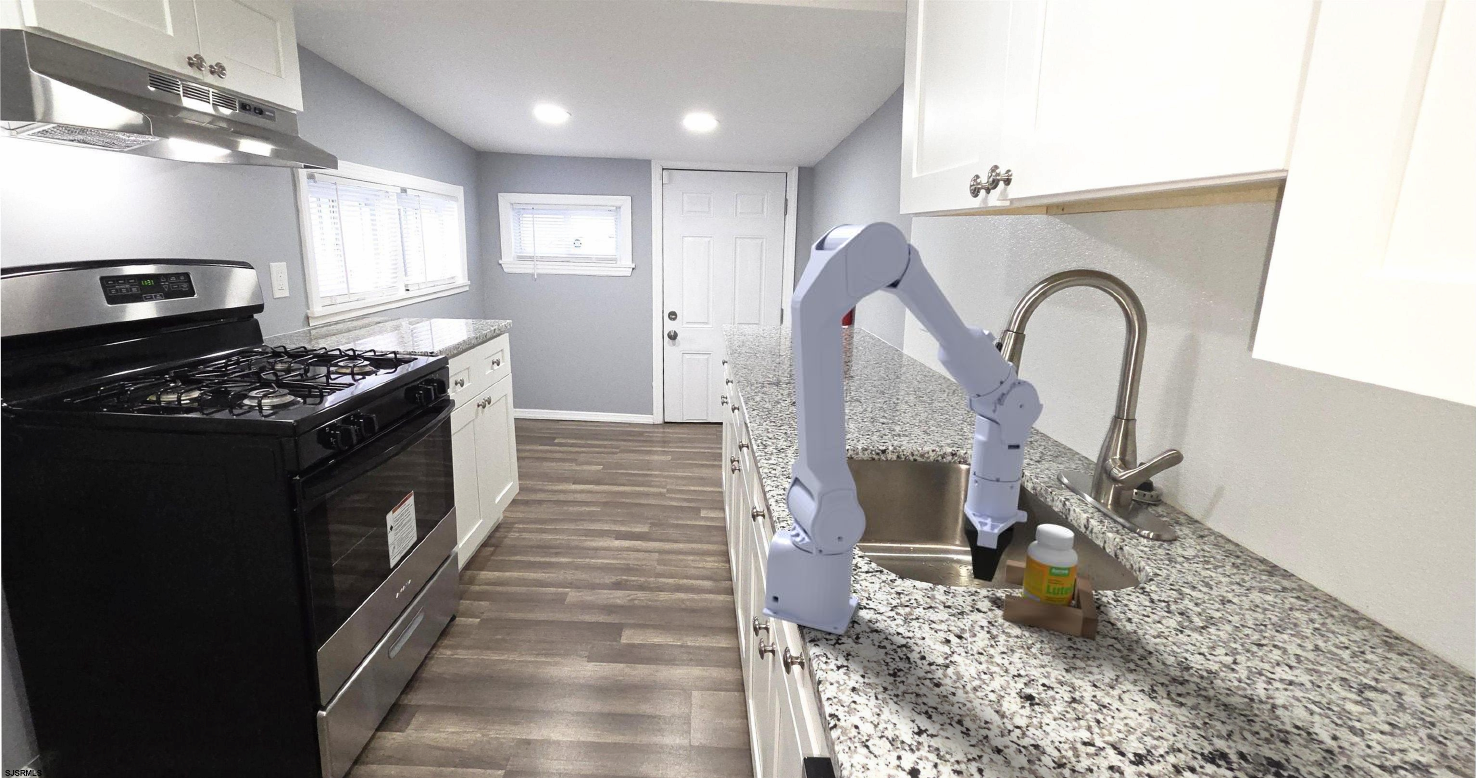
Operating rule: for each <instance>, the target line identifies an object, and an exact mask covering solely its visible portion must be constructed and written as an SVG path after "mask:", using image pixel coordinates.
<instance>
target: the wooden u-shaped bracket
mask: <svg viewBox="0 0 1476 778" xmlns="http://www.w3.org/2000/svg"><path fill="white" fill-rule="evenodd" d="M1025 566H1026V562H1022V561H1017V560H1011V559H1006V563H1005V571H1004V583H1006V584H1012V585H1017V586H1021V587H1023V582H1024V575H1025ZM1004 595H1005V596H1004V602H1003V611H1002V612H1003V613H1002V620H1005V621H1007V622H1012V623H1017V624H1021V625H1027V626H1031V627H1035V628H1040V629H1044V630H1048V631H1053V632H1057V633H1062V634H1067V635H1071V636H1074V637H1075V636H1076V637H1080V638H1085V639H1089V640H1094V641H1096V638H1097V632H1098V631H1097V630H1098V627H1099V626H1098V625H1099V616H1098V610H1097V606H1096V601H1095V597H1094V593H1093V587H1092V584H1091V578H1090V575H1089V574H1085V573H1080V572H1076V575H1075V582H1074V588H1073V595H1072V597H1073V601H1074V607H1067V606H1062V605H1057V604H1052V603H1048V602H1043V601H1038V600H1033V599H1029V598H1024V597H1022V596H1018V595H1014V594H1009V593H1005V594H1004Z"/></svg>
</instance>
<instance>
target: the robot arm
mask: <svg viewBox="0 0 1476 778" xmlns="http://www.w3.org/2000/svg"><path fill="white" fill-rule="evenodd" d="M810 248H811V249H810V258H809V261H807V265H806V267H805V269H804V271H803V273H802V275H801V276H800V280H799V282H798V283H797V285H796V288H795V290H794V292H793V294H792V297H791V300H790V301H791V302H790V313H791V314H790V315H791V332H792V334H791V335H792V353H793V354H792V355H793V371H794V372H793V373H794V393H795V394H794V395H795V412H796V429H797V430H796V433H797V449H798V458H797V459H796V460H795V461H794V463H793V464H791V468H790V469H791V477H790V478H791V479H790V482H789V484H788V486H787V489H786V492H785V506H786V509H787V510H788V512H789V514H790V515H791V516H792V517H793V523H792V526H791V528H790V529H791V530H777V531H776V532H775V534H774V535H773V537H772V539H771V542H770V544H769V549H768V553H767V558H766V578H765V600H764V601H765V603H764V608H763V610H762V615H763V616H765V617H768V618H772V619H776V620H781V621H785V622H787V623H792V624H796V625H800V626H804V627H807V628H811V629H812V628H813V629H815V630H820V631H824V632H827V633H831V634H836V635H841V636H842V635H843V634H844V633H845V632H846V630H847V628H848V626H849V624H850V621H851V619H852V617H853V615H854V613H855V610H856V608H857V606H858V604H859V598H858V597H856V596H853V595H851V588H852V587H851V586H852V577H853V576H852V575H853V574H852V573H853V562H854V561H853V559H854V547H855V546H856V545H857V543H859V541H860V540H861V539H862V537H863V535H864V533H865V529H866V521H867V520H866V516H865V512H864V510H863V507H862V506H860V504H859V501H858V497H857V496H858V495H857V485H856V482H855V481H854V480H855V479H854V477H853V475H852V473H851V470H850V467H849V464H848V462H847V435H846V433H847V432H846V430H847V429H846V407H845V406H846V402H845V374H844V373H845V372H844V348H843V347H844V343H843V342H844V341H843V340H844V337H843V319H844V317H845V316H846V315H847V314H848V313H849V312H850V311H852V309H853V308H854V307H856V306H857V305H858V304H859V303H860V302H861V300H862V299H864V298H866V297H868V296H870V295H872V294H874V293H876V292H878V291H881V292H884V293H887V294H891V295H893V296H895V297H896V298H898V299H899V301H900V302H901V303H902V304H903V305H904V306H905V308H906V309H907V310H908V311H909V312H910V313H911V314H912V315H913V316H914V317H915V319H916V320H917V321H918V322H919V323H920V324H921V325H922V326H923V328H924V329H926V331H927V332H928V333H929V334H930V335H931V336H932V337H933V338H934V339H935V341H937V343H938V348H937V349H938V352H937V360H938V362H940V363H941V365H942V366H943V367H944V369H945V370H946V371H947V372H948V373H949V375H950V376H951V377H952V378H953V379H954V381H955V382H956V383H957V385H958V386H959V387H960V388H961V389H962V390H963V392H964V393H965V394H966V404H967V408H968V409H969V410H971V411H972V412H973V413H975V414H976V416H975V424H974V432H973V442H972V452H971V461H970V469H969V476H968V484H967V485H968V487H967V497H966V502H964V508H963V511H964V513H965V514H966V517H965V520H964V523H963V532H964V535H965V537H966V539H967V542H968V544H969V546H968V547H969V549H970V555H971V556H970V557H971V569H972V575H973V579H974V580H979V581H983V582H989V583H992V582H993V580H994V577H995V576H996V573H997V569H998V566H999V563H1000V560H1001V558H1002V556H1003V554H1004V552H1005V551H1006V549H1007V548H1008V547H1009V545H1010V544H1011V543H1012V541H1013V540H1014V536H1015V534H1014V533H1015V532H1014V531H1015V523H1017V522H1020V523H1025V522H1027V519H1028V513H1027V512H1026V511H1024V510H1019V509H1018V504H1019V497H1020V489H1021V483H1022V481H1021V480H1022V474H1023V467H1024V466H1023V465H1024V460H1025V459H1024V457H1025V449H1026V443H1027V442H1028V440H1029V439H1030V437H1031V430H1032V427H1033V425H1035V423H1036V422H1037V421H1038V420H1039V418H1040V417H1041V414H1042V411H1043V408H1044V405H1043V404H1042V403H1041V402H1040V396H1039V395H1038V391H1037V389H1036V387H1035V386H1034V385H1033V384H1032V383H1031V382H1030V381H1027V380H1024V379H1021V378H1018V375H1017V372H1016V371H1017V367H1016V365H1015V364H1014V363H1013V362H1011V361H1008V360H1006V358H1005V357H1004V355H1002V353H1001V352H1000V350H999V349H998V348H997V347H996V345H995V344H994V343H993V342H994V341H995V340H996V337H995V335H994V334H993V333H992V332H991V331H990V330H986V329H982V328H981V327H979V326H975V325H968V326H966V325H965V323H964V322H963V320H962V318H961V317H960V316H959V315H958V313H957V311H956V310H955V309H954V307H953V306H952V305H951V303H950V301H949V300H948V299H947V296H945V294H944V293H943V291H942V289H940V287H939V285H938V284H937V282H936V281H935V279H934V278H933V277H932V276H931V273H930V272H929V271H928V269H927V268H926V266H925V265H924V263H923V261H922V258H921V254H920V252H919V250H918V249H917V248H916V247H915V246H914V245H913V244H912V243H910V242H908V240H907V239H906V236H905V235H904V233H903V231H901V229H900V228H899V227H897V226H896V225H894V224H892V223H890V222H886V221H874V222H871V223H863V224H862V223H860V224H852V223H851V224H850V223H842V224H837V225H835V226H833V227H832V228H830V229H829V230H827V232H826V233H825V234H823V235H822V236H821V237H820V238H819V239H818V240H817V241H816V242H815V243H813V245H811V247H810Z"/></svg>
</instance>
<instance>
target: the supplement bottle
mask: <svg viewBox="0 0 1476 778" xmlns="http://www.w3.org/2000/svg"><path fill="white" fill-rule="evenodd" d="M1035 532H1036V533H1035V539H1036V540H1035V541H1033V542H1031V543H1030V544H1029V545H1028V548H1027V553H1026V561H1025V563H1026V566H1025V575H1024V582H1023V586H1022V589H1021V597H1024V598H1029V599H1033V600H1038V601H1043V602H1048V603H1052V604H1057V605H1062V606H1067V607H1071V606H1072V600H1073V596H1072V595H1073V588H1074V582H1075V575H1076V573H1077V567H1078V561H1079V560H1078V559H1079V558H1078V554H1077V552H1076V551H1075V550H1074V549H1073V547H1074V541H1075V540H1074V539H1075V533H1074V532H1073V531H1072V530H1070V529H1069V528H1067V527H1064V526H1061V525H1058V524H1051V523H1043V524H1040V525H1038V526H1037V527H1036V531H1035Z"/></svg>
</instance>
